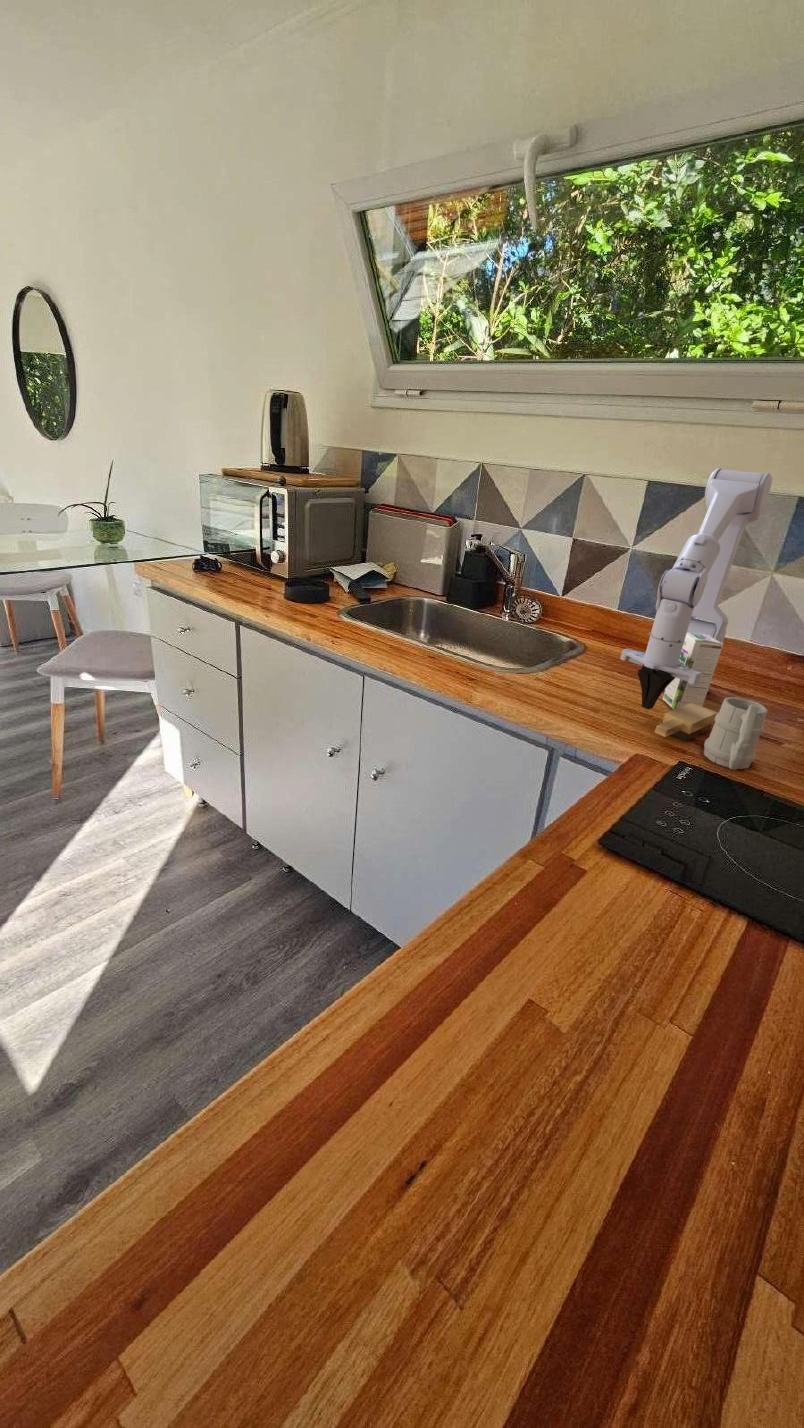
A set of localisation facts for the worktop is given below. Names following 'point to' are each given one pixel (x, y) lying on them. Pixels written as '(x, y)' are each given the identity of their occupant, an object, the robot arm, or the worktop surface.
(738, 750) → the mug
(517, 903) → the worktop surface
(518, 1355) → the worktop surface
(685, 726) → the scrub brush
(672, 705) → the syrup box
